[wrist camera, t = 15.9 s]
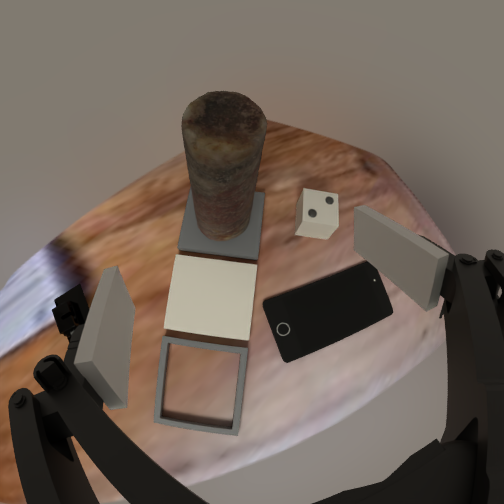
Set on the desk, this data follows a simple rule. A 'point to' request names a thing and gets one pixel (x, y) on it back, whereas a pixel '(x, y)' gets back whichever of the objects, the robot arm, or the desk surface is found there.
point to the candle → (223, 160)
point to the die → (316, 214)
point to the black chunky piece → (70, 311)
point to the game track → (211, 301)
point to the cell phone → (327, 311)
